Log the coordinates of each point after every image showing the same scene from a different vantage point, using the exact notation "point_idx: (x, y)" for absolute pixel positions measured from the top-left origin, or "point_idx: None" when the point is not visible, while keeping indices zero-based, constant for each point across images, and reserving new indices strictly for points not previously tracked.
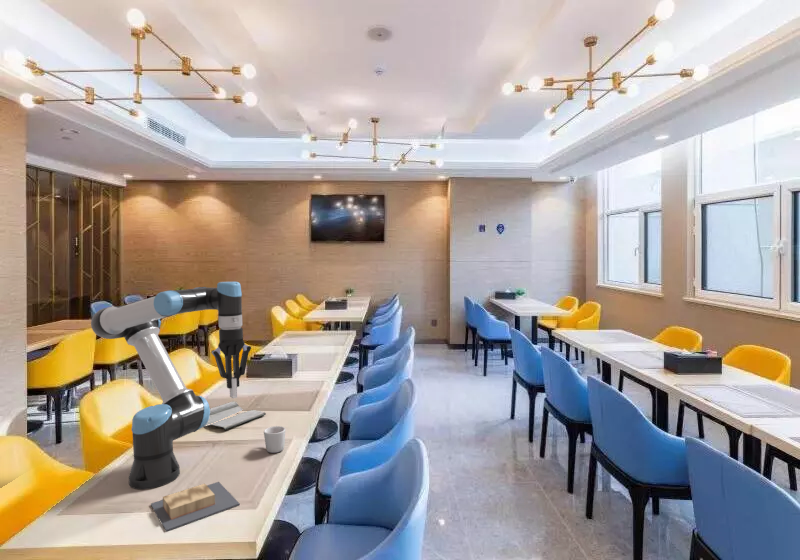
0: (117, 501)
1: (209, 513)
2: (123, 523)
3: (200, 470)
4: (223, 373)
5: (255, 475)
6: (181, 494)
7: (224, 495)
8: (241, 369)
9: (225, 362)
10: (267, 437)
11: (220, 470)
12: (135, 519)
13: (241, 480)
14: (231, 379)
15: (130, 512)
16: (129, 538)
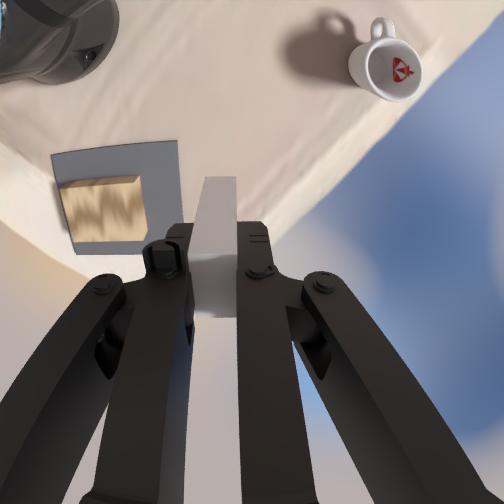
0: (11, 106)
1: (135, 251)
2: (24, 191)
3: (162, 43)
4: (106, 365)
5: (260, 159)
6: (88, 201)
7: (170, 210)
8: (310, 365)
9: (106, 431)
10: (360, 74)
11: (203, 74)
12: (36, 189)
13: (224, 161)
14: (194, 302)
15: (28, 161)
16: (37, 237)
